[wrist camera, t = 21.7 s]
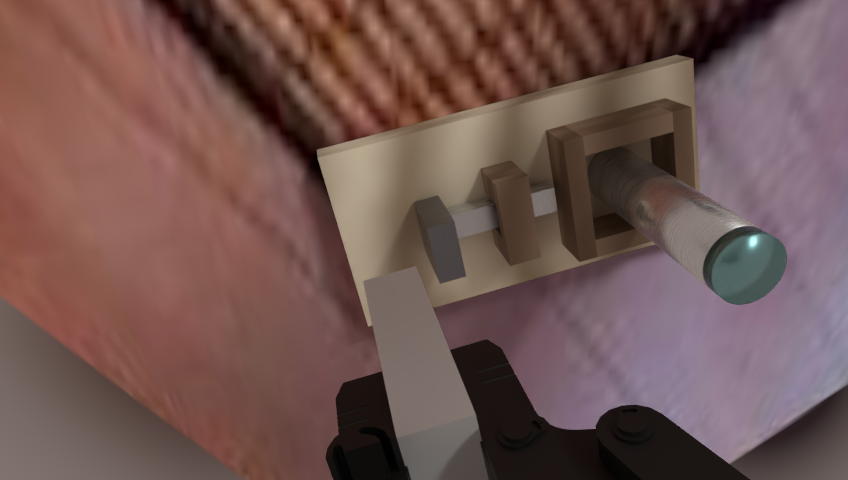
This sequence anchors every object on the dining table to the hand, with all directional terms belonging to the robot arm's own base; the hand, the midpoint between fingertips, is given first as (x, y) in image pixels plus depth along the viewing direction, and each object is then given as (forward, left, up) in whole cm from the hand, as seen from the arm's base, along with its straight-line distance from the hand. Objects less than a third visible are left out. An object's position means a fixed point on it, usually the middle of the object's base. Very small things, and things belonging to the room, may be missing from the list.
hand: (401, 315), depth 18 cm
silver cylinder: (-16, +7, -22) cm, 28 cm away
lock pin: (-7, +7, -22) cm, 24 cm away
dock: (-10, +7, -24) cm, 27 cm away
